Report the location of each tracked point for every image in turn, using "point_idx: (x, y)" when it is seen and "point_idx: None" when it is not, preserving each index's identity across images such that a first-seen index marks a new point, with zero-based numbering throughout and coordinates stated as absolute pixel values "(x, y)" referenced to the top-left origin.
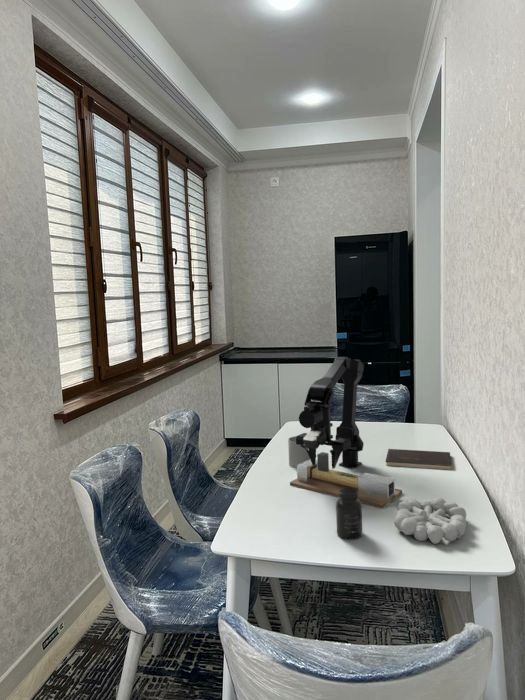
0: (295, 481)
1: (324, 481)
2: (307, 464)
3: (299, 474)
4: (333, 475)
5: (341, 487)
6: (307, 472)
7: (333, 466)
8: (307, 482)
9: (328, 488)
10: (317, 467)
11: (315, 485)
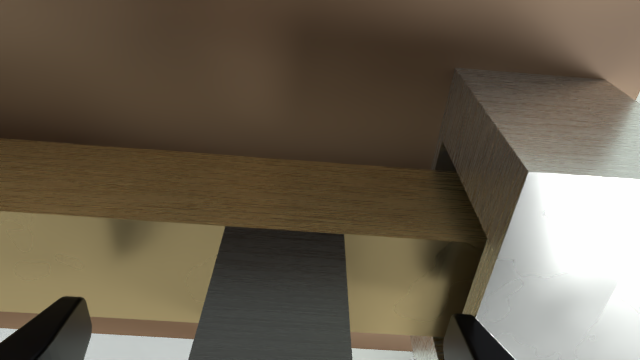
0: (620, 22)
1: None
2: (558, 291)
3: (613, 110)
4: (61, 197)
5: (6, 116)
6: (489, 140)
7: (28, 324)
8: (448, 65)
9: (100, 8)
10: (399, 314)
11: (307, 23)
